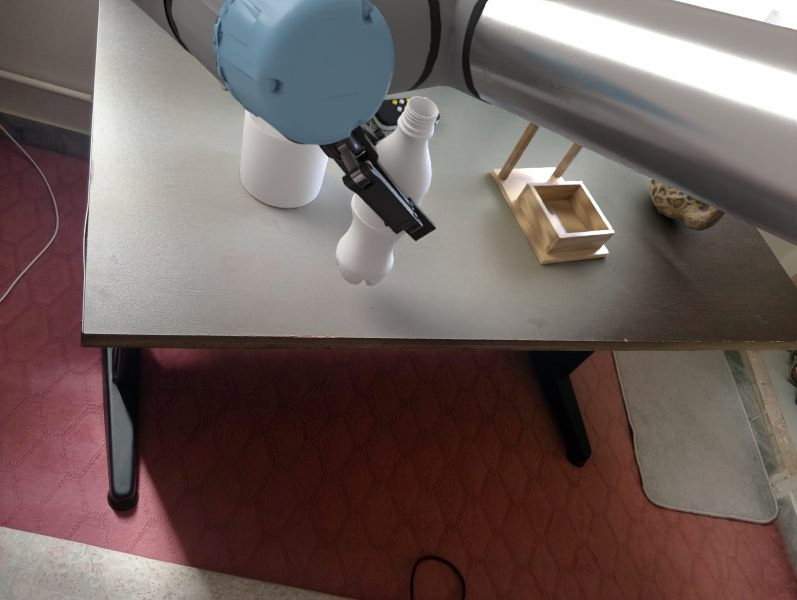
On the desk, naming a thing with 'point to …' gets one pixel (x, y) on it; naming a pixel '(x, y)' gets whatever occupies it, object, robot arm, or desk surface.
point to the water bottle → (411, 170)
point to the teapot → (683, 207)
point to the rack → (553, 208)
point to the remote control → (392, 113)
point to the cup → (279, 166)
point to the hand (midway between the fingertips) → (411, 205)
